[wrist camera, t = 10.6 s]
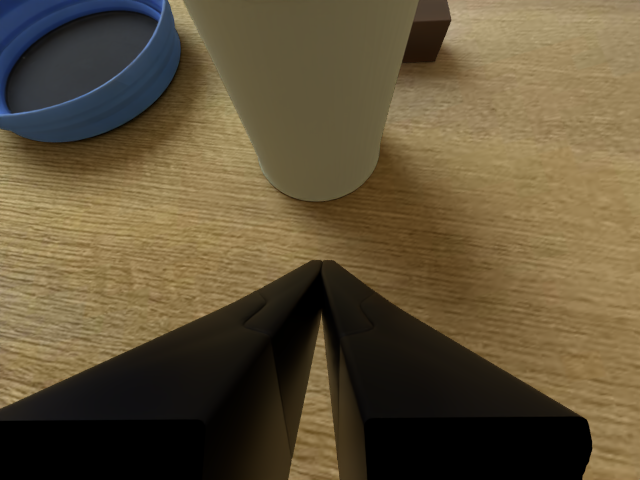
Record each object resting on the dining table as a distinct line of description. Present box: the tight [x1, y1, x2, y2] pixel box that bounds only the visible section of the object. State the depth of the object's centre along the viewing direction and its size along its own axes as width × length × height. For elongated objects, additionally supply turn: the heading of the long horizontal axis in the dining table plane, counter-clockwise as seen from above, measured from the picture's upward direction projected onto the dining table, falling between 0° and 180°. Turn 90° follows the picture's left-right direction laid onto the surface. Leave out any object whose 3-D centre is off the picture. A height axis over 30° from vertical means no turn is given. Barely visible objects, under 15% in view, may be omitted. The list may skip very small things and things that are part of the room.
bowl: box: [0, 0, 181, 142], centre depth 20 cm, size 18×18×4 cm
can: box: [183, 0, 419, 202], centre depth 12 cm, size 9×9×12 cm
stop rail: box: [402, 0, 451, 63], centre depth 20 cm, size 3×18×3 cm, turn 89°
